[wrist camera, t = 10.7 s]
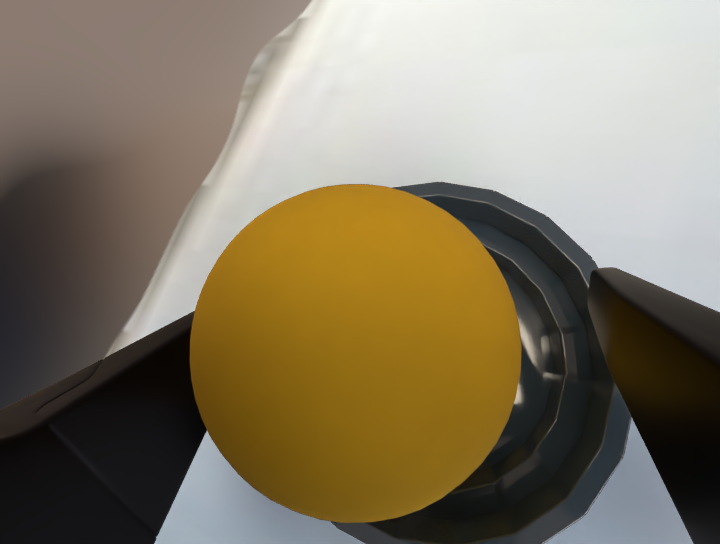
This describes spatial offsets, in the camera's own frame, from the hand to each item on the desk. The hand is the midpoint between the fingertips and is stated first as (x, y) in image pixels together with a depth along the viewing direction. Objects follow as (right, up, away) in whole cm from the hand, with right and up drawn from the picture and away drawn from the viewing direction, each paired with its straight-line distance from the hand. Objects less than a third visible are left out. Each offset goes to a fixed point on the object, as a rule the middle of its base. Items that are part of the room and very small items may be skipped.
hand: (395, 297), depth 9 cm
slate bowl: (+2, -3, +7) cm, 8 cm away
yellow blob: (+2, -3, +7) cm, 8 cm away
